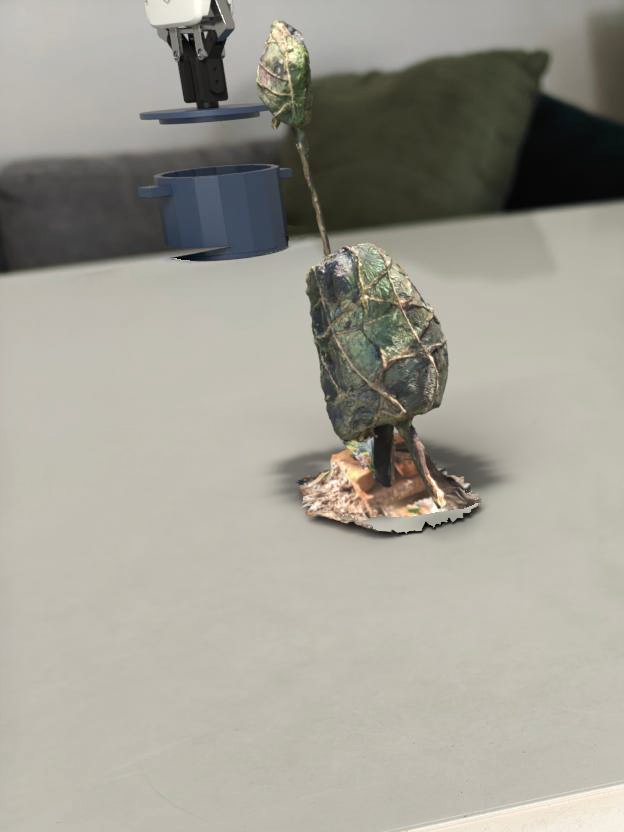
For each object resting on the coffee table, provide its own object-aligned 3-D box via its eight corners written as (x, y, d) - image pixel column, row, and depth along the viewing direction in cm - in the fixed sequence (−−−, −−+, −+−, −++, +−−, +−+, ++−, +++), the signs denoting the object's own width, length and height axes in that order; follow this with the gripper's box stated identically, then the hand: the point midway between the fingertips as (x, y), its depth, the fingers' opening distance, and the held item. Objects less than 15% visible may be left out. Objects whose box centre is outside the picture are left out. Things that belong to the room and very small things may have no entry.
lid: (115, 126, 122) (103, 63, 120) (225, 115, 132) (216, 55, 129) (191, 125, 113) (180, 56, 110) (304, 113, 122) (296, 49, 120)
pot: (124, 260, 127) (108, 179, 123) (260, 235, 139) (249, 160, 135) (192, 269, 118) (177, 182, 114) (331, 241, 130) (321, 162, 126)
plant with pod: (314, 573, 46) (235, 14, 37) (292, 484, 56) (226, 25, 46) (506, 545, 47) (478, -1, 38) (452, 463, 57) (419, 14, 48)
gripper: (99, -92, 116) (136, 106, 124) (188, -114, 106) (221, 103, 114) (162, -90, 120) (193, 101, 129) (252, -111, 110) (280, 97, 119)
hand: (206, 100), depth 121 cm, fingers closed on lid, 2 cm apart
